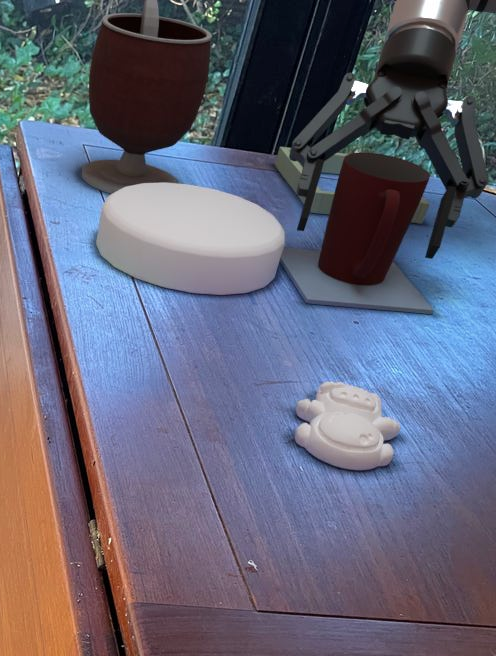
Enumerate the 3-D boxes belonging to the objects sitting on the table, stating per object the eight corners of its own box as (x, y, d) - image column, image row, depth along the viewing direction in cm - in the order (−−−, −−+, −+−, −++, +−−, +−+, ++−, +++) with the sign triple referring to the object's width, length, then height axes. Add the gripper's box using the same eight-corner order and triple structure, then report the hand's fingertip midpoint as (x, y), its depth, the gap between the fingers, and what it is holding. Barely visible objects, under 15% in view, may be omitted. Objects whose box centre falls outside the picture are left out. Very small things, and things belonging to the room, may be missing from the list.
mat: (388, 261, 115) (390, 257, 115) (432, 314, 105) (434, 310, 105) (272, 250, 114) (273, 246, 113) (305, 303, 104) (307, 298, 103)
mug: (401, 306, 105) (443, 198, 97) (318, 292, 105) (353, 183, 97) (384, 262, 114) (421, 160, 106) (307, 250, 114) (339, 147, 106)
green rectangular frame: (376, 176, 140) (383, 157, 138) (422, 223, 127) (430, 203, 125) (274, 165, 138) (279, 146, 136) (310, 212, 125) (316, 192, 123)
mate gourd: (193, 205, 122) (235, 18, 109) (81, 195, 120) (111, 3, 107) (170, 164, 133) (205, -11, 120) (68, 154, 132) (92, -25, 118)
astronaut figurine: (402, 417, 87) (415, 386, 85) (384, 482, 79) (398, 449, 77) (304, 388, 89) (315, 357, 87) (277, 449, 81) (288, 416, 79)
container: (195, 214, 120) (204, 173, 117) (313, 280, 108) (327, 237, 105) (60, 231, 111) (66, 188, 108) (173, 306, 99) (184, 260, 96)
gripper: (526, 93, 107) (475, 280, 106) (297, 50, 110) (245, 230, 110) (555, 47, 100) (501, 247, 99) (308, 2, 103) (253, 195, 102)
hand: (366, 238), depth 104 cm, fingers open, 13 cm apart
